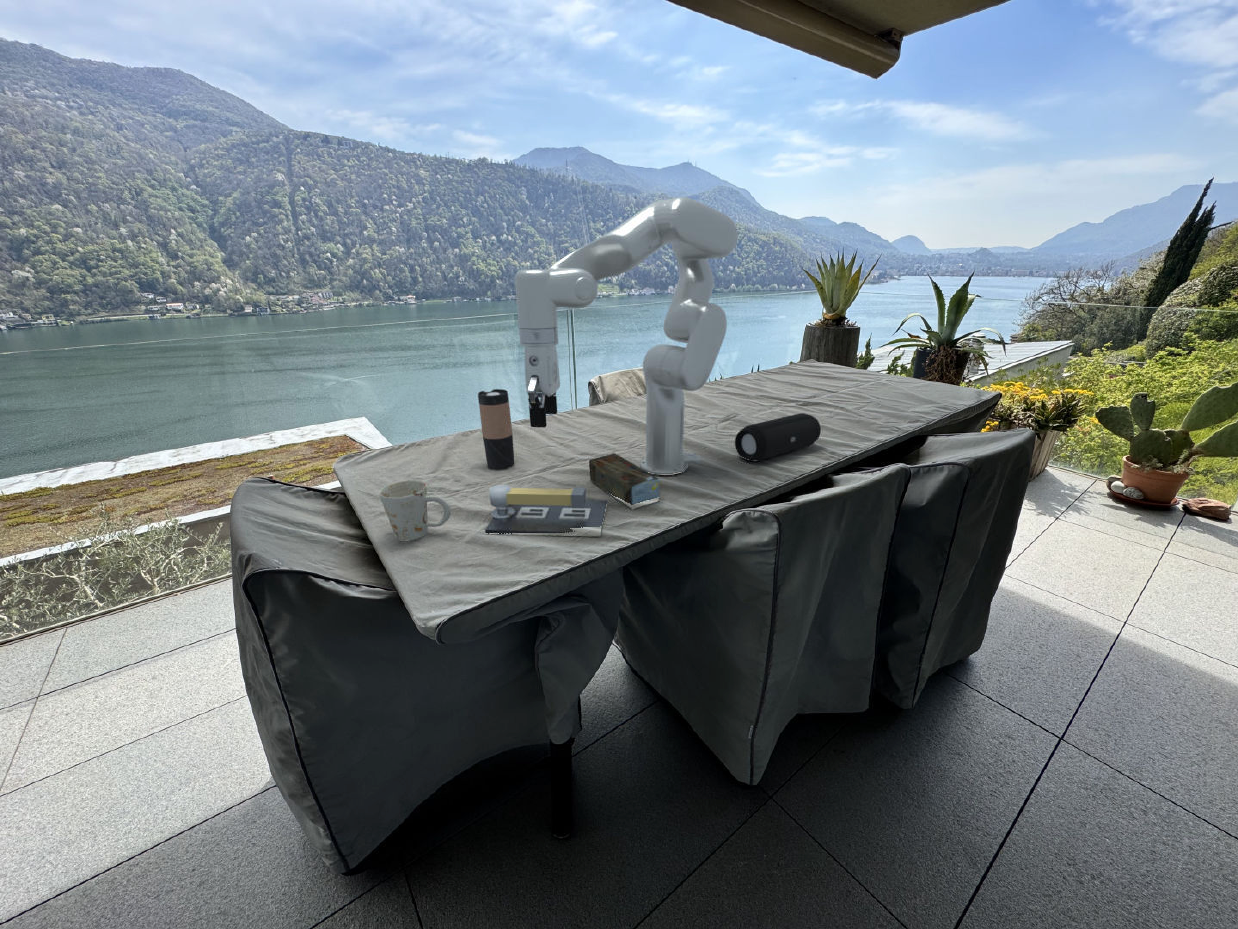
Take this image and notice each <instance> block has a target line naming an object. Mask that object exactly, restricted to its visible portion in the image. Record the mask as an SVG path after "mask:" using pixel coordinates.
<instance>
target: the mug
mask: <svg viewBox="0 0 1238 929" xmlns="http://www.w3.org/2000/svg"><path fill="white" fill-rule="evenodd" d="M378 493H379V494H378V495H379V497H380V500H381V503H382V505H383V508H384V511H385V513H386V516H387V518H388V519H387V520H388V521H389V524H390V526H391V530H392V533H393V534H394V536H395V538H396V540H398V539H399V540H398V541H400V540H412V541H415V539H416V540H418V538H419V539H420V537H421V538H422V536H423V535H424V536H426V535H427V534H428V531H429V528H433V527H434V528H435V527H436V528H437V527H441V526H443V525H444V524H446V523H447V522H448V520H449V519H450V518H451V514H452V513H451V510H452V509H451V507H450V505H449V503H448V502H447V500H445V498H444V497H442V496H439V495H427V494H428V490H427V485H426V483H425V482H424V481H422V480H419V479H403V480H400V481H394V482H392V483H389V484H387V485H385V486H383V487H382V488H381V489H380V490H379V492H378ZM429 502H435V503H437V504H439V505H441V508H443V511H444V512H443V516H442V517H441V519H440V520H439V521H435V522H433V521H432V522H431V521H429V520H428V503H429ZM425 534H426V535H425ZM424 536H423V537H424Z"/></svg>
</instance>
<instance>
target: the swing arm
mask: <svg viewBox="0 0 1238 929" xmlns="http://www.w3.org/2000/svg"><path fill="white" fill-rule="evenodd" d="M586 491H587V490H586V486H573V488H537V487H536V488H533V487H531V488H529V487H525V488H524V487H523V488H522V487H511V486H510V485H508V484H497V485H493V486H491V487H489V489H488V493H489V501H490V505H491V506H493V507H495V508H496V507H502V506H506V505H509V504H518V505H567V506H572V508H584V505H585V501H586V500H587V495H586V494H587V493H586Z"/></svg>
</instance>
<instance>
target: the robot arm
mask: <svg viewBox="0 0 1238 929" xmlns="http://www.w3.org/2000/svg"><path fill="white" fill-rule="evenodd" d="M738 236H739V233H738V229H737V226H736V223H735V222H734V220H733V219H732V218H731V217H730V216H729V215H727V214H725V213H723V212H721V211H719V210H716V209H715V208H712V207H710V206H709V205H706V204H705V203H701V201H699V200H698V201H697V200H695V199H693V198H689V197H684V196H679V197H674V198H668V199H662V200H658V201H653V202H651V203H650V204H648V205H647V206H644V207H643V208H642V209H640V210H639V211H638V212H636V213H635V214H634V215H632V216H631V217H629V218H628V219H626V220H625V221H624V222H622V223H621V224H619V225H618V226H616V227H615V228H614V229H612V230H611V231H609V232H607V233H606V234H604V235H602V236H600V237H598V238H595V239H594V240H593V241H590V242H589V243H586V244H585V245H583V246H581V247H579V248H578V249H576V250H574V251H573V252H571V253H569V254H567V255H566V256H564V257H562V259H560V260H559V261H557V262H556V263H554V264H553V265H552V266H550V267H549V268H548V269H540V268H539V269H521V270H518V271H517V272H516V273H515V277H514V282H515V284H514V285H515V295H516V308H517V320H518V331H519V333H518V334H519V344H520V346H521V347H524V357H523V358H524V376H525V378H524V380H525V388H526V394H527V396H528V398H527V401H528V412H529V422H530V424H529V425H530V427H531V428H542V429H543V428H546V427H547V426H548V424H547V415H557V413H558V400H557V397H558V396H557V391H558V390H559V388H561V380H560V379H561V378H560V369H559V360H558V351H557V345H559V332H558V330H559V329H558V328H559V327H558V314H557V313H558V312H557V310H558V309H557V308H564V309H573V310H580V309H584V308H587V307H588V306H590V305H591V304H592V303H593V302H594V301H595V300H596V298H597V295H598V291H599V288H598V283H597V281H600V280H602V279H606V278H610V277H615V276H619V275H622V274H625V273H627V272H630V271H632V270H634V269H635V268H636V267H637V266H638V265H640V264H641V263H643V262H644V261H645V260H646V259H647V258H649V257H650V256H652V255H653V254H654V253H656V252H657V251H659V250H660V249H661V248H662V247H664V246H666V245H671V249H672V252H673V254H674V256H675V259H676V262H677V266H678V272H679V274H678V282H677V285H676V288H675V290H674V293H673V296H672V299H671V301H670V303H669V304H670V305H669V307H668V309H667V312H666V315H665V318H664V322H663V332H664V334H665V336H666V337H667V338H668V339H669V340H671V341H674V342H679V343H682V344H683V343H684V344H686V346H678V345H673V344H666V343H665V344H664V343H662V344H657V345H655V346H652V347H651V348H650V349H649V350H648V351H646V353H645V356H644V358H643V361H642V372H643V378H644V384H645V390H646V392H645V393H646V425H645V426H646V427H645V428H646V430H645V432H646V434H645V438H646V439H645V440H646V442H645V443H646V444H645V446H646V448H645V449H646V450H645V454H646V455H645V457H644V458H643V459H642V460H640V463H639V467H640V468H642V469H643V470H645V471H647V472H650V473H654V474H673V473H678V472H683V471H684V470H686V469H687V468H688V469H689V463H694V464H701V455H696V453H695V452H686V451H685V448H684V431H685V430H684V429H685V407H686V406H685V405H686V404H685V403H686V402H685V397H684V396H685V395H684V391H687V392H695V391H697V390H700V389H701V388H702V387H704V385H705V384H706V383H707V382H708V379H709V378H710V375H711V373H712V370H713V369H714V365H715V363H716V361H717V358H718V356H719V352H720V350H721V348H722V345H723V343H724V340H725V336H726V333H727V326H728V325H727V322H728V321H727V316H726V313H725V311H724V309H723V308H722V307H721V306H720V305H719V304H716V303H713V302H710V299H711V296H712V294H713V289H714V285H715V284H714V276H713V275H714V274H713V271H712V268H711V265H710V263H709V260H711V259H722V258H725V257H727V256H728V255H730V254H731V253H732V252H733V251H734V249H735V247H736V246H737V243H738V240H739V239H738ZM708 259H709V260H708ZM688 469H687V470H688ZM687 470H686V471H687ZM683 473H684V472H683Z"/></svg>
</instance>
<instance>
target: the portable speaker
mask: <svg viewBox="0 0 1238 929" xmlns="http://www.w3.org/2000/svg"><path fill="white" fill-rule="evenodd" d="M821 430H822V428H821V425H820V422H819V420H818V419H817V418H816V417H815V416H813V415H811V414H807V413H803V412H802V413H796V414H792V415H787V416H783V417H779V418H775V419H770V420H765V421H761V422H757V423H754V424H749V425H746V426H744V427H743V428H742V429H740V431H738V432H737V434H736V436H735V439H734V446H735V449H736V450H735V451H736V452H737V454H738V456H739V457H741V456H742V457H744V458H746V459H749V460H748V461H750V460H759V461H762V459H763V460H765V458H766V459H770V458H773V457H777V456H780V455H783V453H784V454H787V453H790V451H791V452H794V451H797V449H798V450H801V449H804V448H808V447H810V446H812V445H814V444H815V443H816V442H817V440H818V439H819V438H820V436H821ZM800 448H801V449H800ZM779 454H780V455H779ZM776 455H777V456H776ZM772 456H773V457H772ZM742 457H741V458H742ZM769 457H770V458H769Z"/></svg>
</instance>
